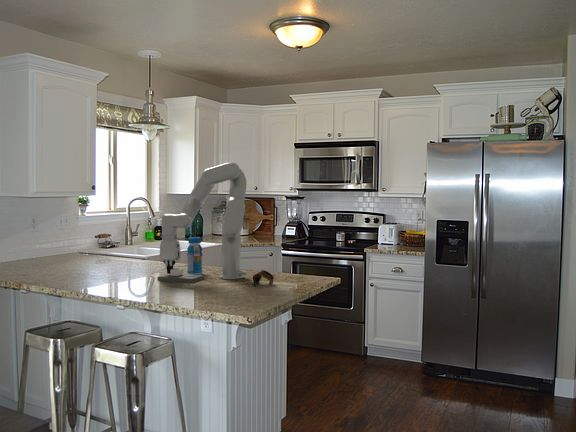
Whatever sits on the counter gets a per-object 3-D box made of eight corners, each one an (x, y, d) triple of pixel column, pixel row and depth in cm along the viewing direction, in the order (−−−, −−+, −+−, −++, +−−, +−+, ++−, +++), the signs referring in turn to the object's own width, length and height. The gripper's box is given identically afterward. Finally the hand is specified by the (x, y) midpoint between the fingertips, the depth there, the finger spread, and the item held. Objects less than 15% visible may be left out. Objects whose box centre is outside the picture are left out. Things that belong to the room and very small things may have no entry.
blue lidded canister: (184, 274, 282) (184, 237, 281) (191, 272, 290) (190, 236, 289) (199, 275, 280) (198, 238, 279) (205, 272, 288) (204, 236, 287)
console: (203, 278, 269) (203, 274, 269) (192, 282, 258) (192, 278, 258) (169, 276, 275) (169, 272, 275) (157, 280, 264) (157, 276, 264)
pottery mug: (257, 283, 260) (266, 269, 259) (270, 293, 255) (279, 279, 254) (244, 280, 249) (252, 266, 249) (257, 291, 244) (266, 276, 244)
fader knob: (183, 274, 269) (183, 267, 269) (177, 276, 264) (177, 269, 263) (176, 273, 270) (176, 267, 270) (170, 275, 265) (170, 268, 265)
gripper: (186, 237, 268) (186, 272, 269) (160, 236, 273) (161, 271, 274) (178, 239, 261) (179, 275, 262) (152, 238, 266) (153, 273, 267)
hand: (170, 273), depth 268 cm, fingers closed
